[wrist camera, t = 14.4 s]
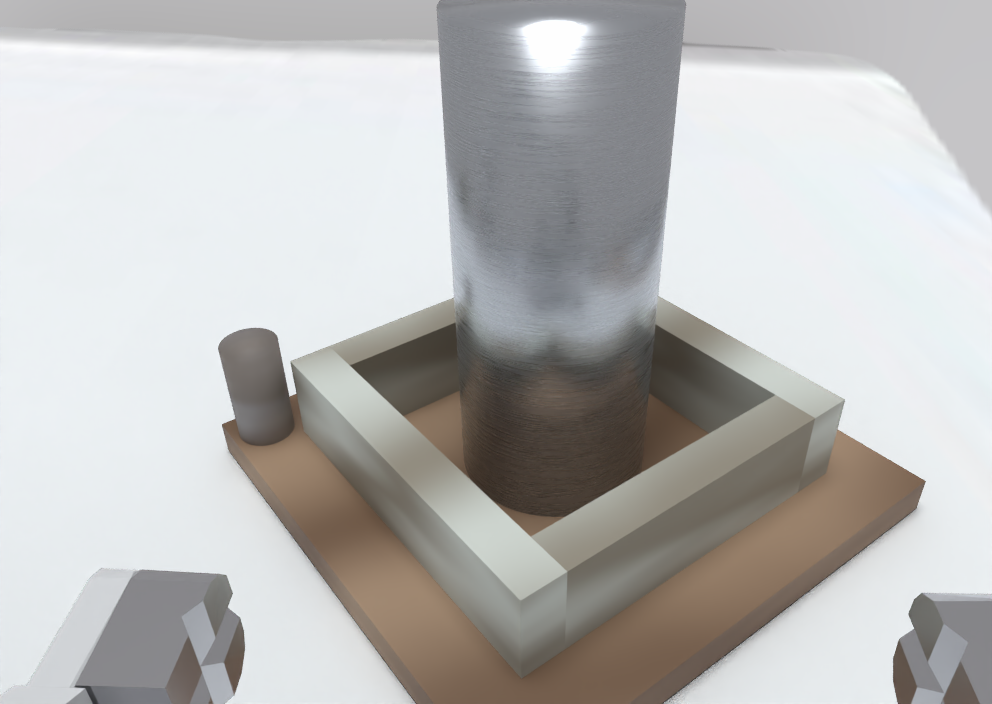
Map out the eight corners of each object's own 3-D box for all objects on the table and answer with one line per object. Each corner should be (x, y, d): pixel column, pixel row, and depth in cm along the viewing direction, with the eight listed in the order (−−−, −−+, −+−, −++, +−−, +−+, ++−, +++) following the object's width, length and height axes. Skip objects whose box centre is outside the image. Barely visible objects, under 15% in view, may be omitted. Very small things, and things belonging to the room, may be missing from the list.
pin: (429, 442, 25) (390, 0, 18) (563, 378, 27) (573, -32, 20) (538, 546, 21) (541, 51, 15) (680, 463, 24) (740, 4, 17)
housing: (228, 450, 26) (199, 340, 24) (578, 300, 33) (581, 204, 31) (505, 824, 17) (500, 701, 15) (916, 508, 23) (956, 390, 21)
